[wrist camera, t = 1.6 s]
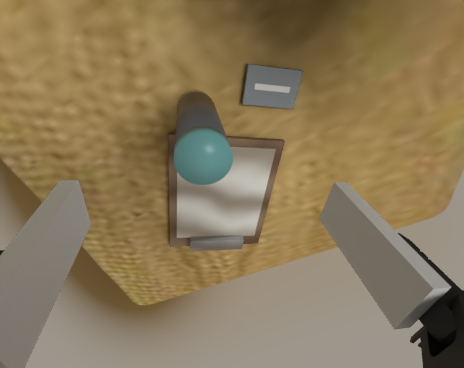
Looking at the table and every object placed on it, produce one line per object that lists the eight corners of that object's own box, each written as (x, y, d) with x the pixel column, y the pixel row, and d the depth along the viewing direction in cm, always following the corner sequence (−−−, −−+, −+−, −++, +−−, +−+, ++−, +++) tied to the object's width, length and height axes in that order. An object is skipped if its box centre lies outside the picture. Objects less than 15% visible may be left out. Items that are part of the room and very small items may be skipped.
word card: (247, 63, 25) (248, 64, 24) (301, 70, 26) (303, 71, 25) (241, 103, 27) (242, 104, 26) (291, 107, 28) (293, 109, 27)
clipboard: (168, 132, 27) (167, 139, 26) (283, 139, 30) (288, 145, 29) (170, 243, 37) (169, 252, 35) (256, 240, 40) (259, 248, 38)
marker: (177, 87, 25) (173, 130, 15) (216, 91, 26) (236, 134, 16) (177, 124, 27) (173, 184, 17) (212, 127, 28) (229, 185, 18)
